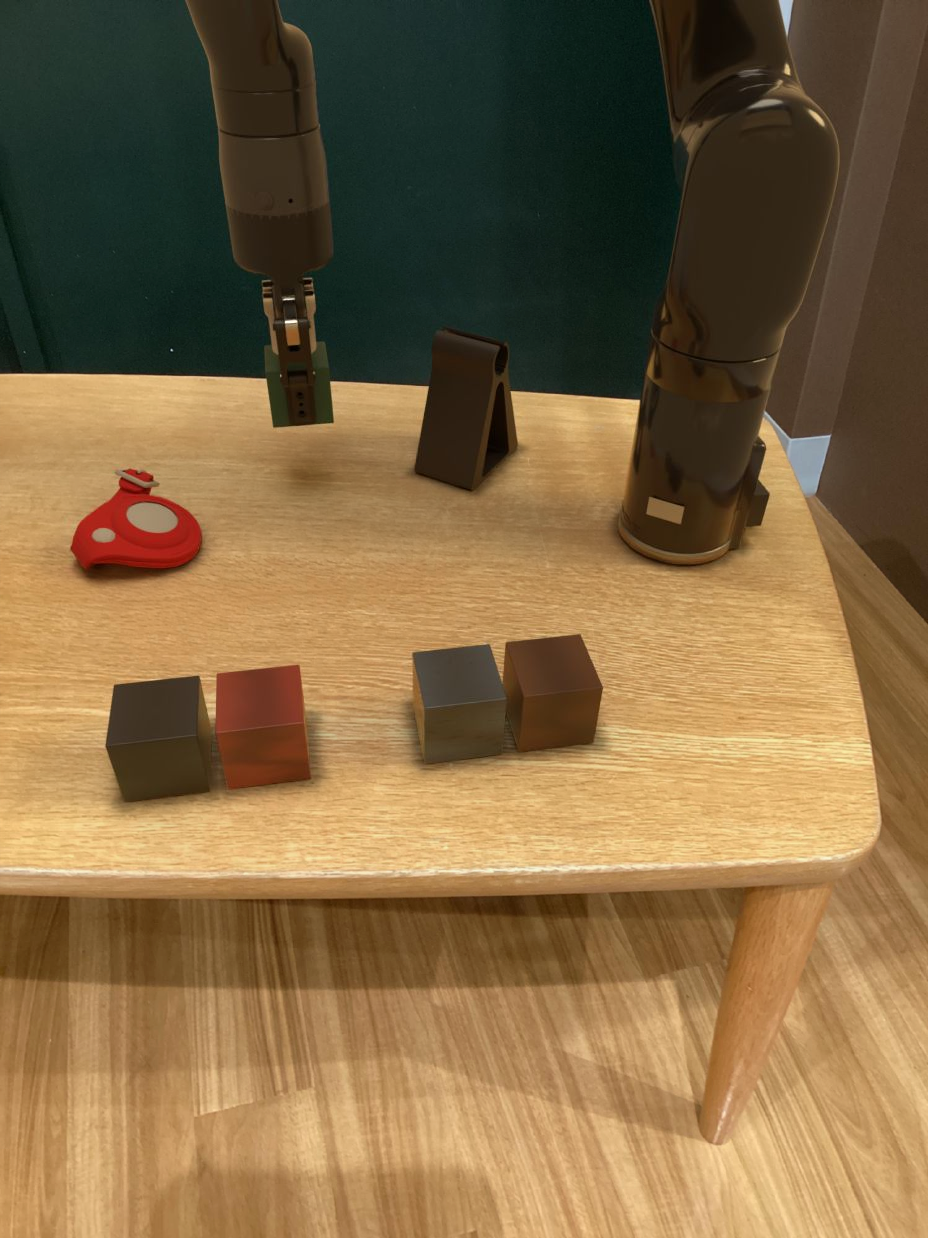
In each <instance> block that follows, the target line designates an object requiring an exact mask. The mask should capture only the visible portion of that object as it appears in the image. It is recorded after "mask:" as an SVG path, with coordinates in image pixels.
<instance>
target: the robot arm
mask: <svg viewBox="0 0 928 1238" xmlns="http://www.w3.org/2000/svg"><path fill="white" fill-rule="evenodd" d="M647 2H648V5H649V8H650V13H651V17H652V20H653V25H654V29H655V30H654V31H655V35H656V40H657V45H658V52H659V56H660V63H661V70H662V71H661V72H662V77H663V83H664V90H665V97H666V105H667V106H666V107H667V114H668V121H669V122H668V123H669V124H668V125H669V131H670V140H671V141H670V142H671V151H672V152H671V153H672V164H673V171H674V177H675V180H676V181H675V182H676V184H677V186H678V189H679V192H680V195H681V197H680V204H679V209H678V210H679V211H678V217H677V222H676V227H675V232H674V233H675V234H674V240H673V244H672V249H671V255H670V260H669V261H670V262H669V267H668V272H667V274H666V280H665V282H664V285H663V286H661V288H660V289H659V291H658V292H657V295H656V299H655V303H654V310H653V315H652V322H651V329H650V336H649V341H648V347H647V354H646V360H645V368H644V373H643V378H642V385H641V390H640V396H639V402H638V403H639V404H638V409H637V414H636V421H635V427H634V428H635V429H634V432H633V433H634V434H633V439H632V445H631V451H630V457H629V463H628V470H627V476H626V482H625V488H624V494H623V499H622V501H621V502H622V503H621V509H620V511H619V516H618V517H619V518H618V522H617V527H618V532H619V535H620V536H621V538H622V539H623V541H624V542H625V543H626V544H627V545H628V546H629V547H630V548H632V549H633V550H635V551H636V552H637V553H640V554H641V555H643V556H645V557H647V558H650V559H653V560H656V561H658V562H662V563H663V562H664V563H668V564H674V565H699V564H704V563H709V562H712V561H714V560H717V559H718V558H720V557H722V556H723V555H725V554H726V553H727V552H728V551H729V550H733V549H739V548H740V547H741V545H742V540H743V537H744V535H745V534H744V533H745V530H746V528H752V527H761V526H762V524H763V520H764V517H765V513H766V509H767V506H768V503H769V499H770V496H771V493H770V492H769V491H768V489H767V488H766V487H765V485H764V484H763V483H762V481H760V479H759V477H760V474H761V470H762V466H763V463H764V460H765V456H766V452H767V444H766V442H765V441H764V440H763V439H762V438H761V437H760V436H759V434H760V431H761V427H762V424H763V419H764V416H765V411H766V407H767V404H768V400H769V396H770V392H771V388H772V384H773V382H774V381H773V380H774V375H775V374H776V373H775V372H776V368H777V365H778V362H779V357H780V354H781V350H782V346H783V342H784V339H785V335H786V332H787V329H788V326H789V325H790V323H791V321H792V320H793V319H794V318H795V316H796V315H797V313H798V312H799V310H800V307H801V306H802V304H803V301H804V298H805V295H806V293H807V290H808V286H809V284H810V280H811V277H812V273H813V271H814V266H815V264H816V260H817V258H818V257H817V256H818V253H819V251H820V248H821V244H822V240H823V238H824V234H825V231H826V227H827V224H828V220H829V217H830V213H831V209H832V206H833V202H834V198H835V193H836V188H837V184H838V179H839V171H840V158H841V157H840V146H839V140H838V136H837V135H838V134H837V133H836V130H835V128H834V125H833V124H832V121H831V120H830V118H829V117H828V116H827V114H826V113H825V111H824V110H823V109H822V108H821V107H820V106H819V105H818V104H817V103H816V102H815V101H814V100H813V99H811V97H810V96H809V95H807V93H805V91H804V89H803V87H802V83H801V81H800V78H799V75H798V72H797V69H796V66H795V62H794V58H793V55H792V51H791V47H790V43H789V39H788V35H787V31H786V25H785V22H784V17H783V12H782V8H781V3H780V0H647ZM185 3H186V6H187V9H188V11H189V14H190V15H189V16H190V18H191V20H192V23H193V27H194V28H195V30H196V34H197V36H198V38H199V40H200V42H201V45H202V47H203V50H204V53H205V55H206V58H207V61H208V68H209V77H210V83H211V92H212V99H213V106H214V112H215V119H216V126H217V135H218V161H219V162H218V163H219V170H220V177H221V184H222V191H223V196H224V204H225V210H226V216H227V218H226V219H227V223H228V229H229V236H230V243H231V249H232V257H233V259H234V262H235V263H236V265H237V266H238V267H240V268H241V269H243V270H244V271H247V272H249V273H253V274H256V275H258V274H262V275H265V276H266V277H268V278H270V279H266V280H263V279H262V280H261V286H262V293H261V295H262V302H263V304H262V305H263V311H264V314H265V316H266V317H267V318H268V325H269V334H270V341H271V342H270V343H271V345H272V350H273V352H274V353H275V354H277V355H279V362H280V369H281V374H280V383H282V384H283V388H285V391H286V399H287V407H288V415H289V422H290V424H291V425H293V426H292V427H302V426H304V427H305V426H314V425H313V424H315V423H316V420H317V419H316V410H315V400H314V390H313V385H314V381H316V376H315V372H313V365H312V355H311V354H312V353H313V352H314V351H315V350H316V348H317V344H316V342H317V336H316V327H315V318H314V317H315V314H316V312H317V311H316V310H317V304H316V295H315V289H314V281H313V280H314V279H313V277H303V276H304V275H305V274H307V273H308V272H311V271H313V272H314V271H318V270H320V269H322V268H324V267H325V266H326V265H328V264H329V263H330V262H331V261H332V259H333V257H334V254H335V247H334V237H333V224H332V223H333V222H332V210H331V199H330V187H329V175H328V174H329V172H328V162H327V155H326V150H325V145H324V142H323V136H322V130H321V129H322V128H321V122H320V110H319V100H318V99H319V98H318V88H317V87H318V86H317V73H316V65H315V57H314V51H313V47H312V45H311V42H310V39H309V37H308V36H307V34H306V33H305V32H304V31H303V30H301V28H299V27H298V26H295V25H293V24H290V23H288V22H284V20H283V17H282V13H281V9H280V7H279V2H278V0H185ZM294 363H305V364H306V367H307V369H306V368H293V369H287V365H288V364H294ZM315 425H316V424H315Z"/></svg>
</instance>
